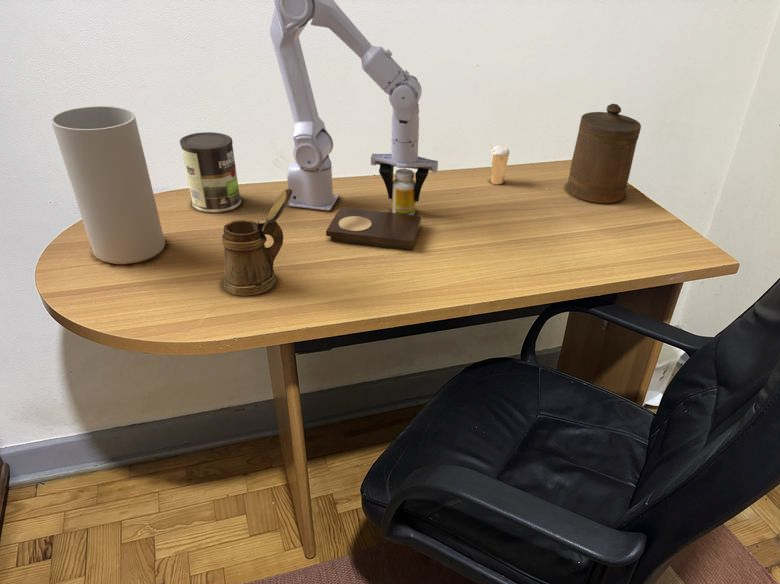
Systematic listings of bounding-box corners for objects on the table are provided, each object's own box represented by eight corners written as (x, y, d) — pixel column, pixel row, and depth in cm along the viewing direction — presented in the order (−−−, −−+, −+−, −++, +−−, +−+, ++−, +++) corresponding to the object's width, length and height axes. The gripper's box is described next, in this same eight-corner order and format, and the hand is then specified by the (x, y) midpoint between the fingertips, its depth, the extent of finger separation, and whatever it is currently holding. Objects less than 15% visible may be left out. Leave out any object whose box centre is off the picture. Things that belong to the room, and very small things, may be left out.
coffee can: (249, 197, 143) (240, 135, 134) (228, 215, 134) (217, 151, 126) (206, 190, 143) (195, 129, 135) (183, 209, 135) (169, 144, 127)
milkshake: (482, 179, 162) (486, 141, 156) (500, 177, 164) (505, 140, 158) (490, 186, 159) (494, 147, 153) (508, 184, 161) (513, 146, 155)
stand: (326, 241, 129) (325, 230, 127) (341, 217, 138) (340, 205, 137) (412, 251, 128) (413, 240, 127) (421, 226, 138) (421, 215, 136)
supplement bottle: (387, 210, 143) (387, 169, 137) (406, 205, 146) (407, 165, 140) (400, 219, 140) (401, 178, 134) (419, 214, 143) (421, 174, 137)
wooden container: (633, 193, 163) (656, 106, 150) (606, 209, 154) (627, 118, 140) (585, 176, 170) (602, 92, 157) (555, 190, 160) (571, 102, 147)
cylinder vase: (85, 244, 120) (42, 111, 105) (152, 229, 127) (121, 102, 112) (105, 272, 113) (62, 134, 98) (175, 254, 120) (145, 123, 105)
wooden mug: (301, 293, 113) (292, 200, 102) (222, 297, 110) (204, 201, 99) (300, 268, 120) (291, 178, 109) (225, 271, 116) (209, 179, 106)
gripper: (367, 140, 130) (368, 201, 138) (436, 148, 129) (433, 209, 137) (374, 130, 135) (374, 189, 143) (440, 137, 135) (437, 196, 143)
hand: (403, 198), depth 141 cm, fingers closed on supplement bottle, 5 cm apart
